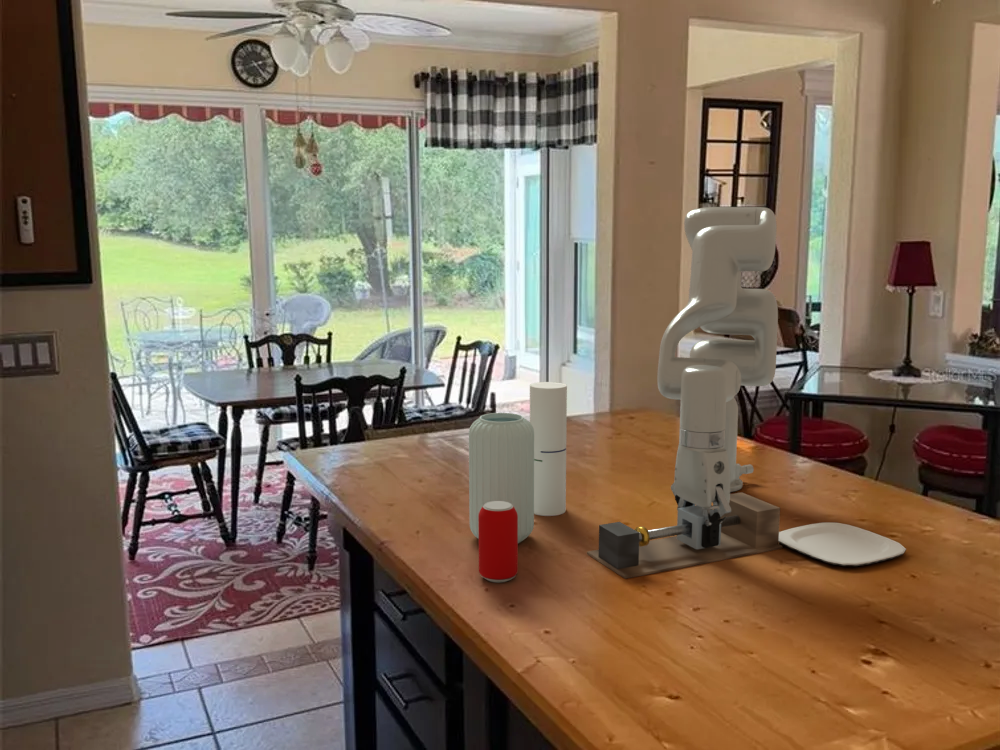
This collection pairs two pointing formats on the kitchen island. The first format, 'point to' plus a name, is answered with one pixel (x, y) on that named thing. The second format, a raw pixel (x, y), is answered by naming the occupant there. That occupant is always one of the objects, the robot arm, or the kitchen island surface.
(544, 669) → the kitchen island surface
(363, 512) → the kitchen island surface
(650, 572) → the slide base
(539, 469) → the cylindrical container
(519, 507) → the vase
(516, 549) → the beverage can
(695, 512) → the grey sliding block
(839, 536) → the plate
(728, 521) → the metal rod
